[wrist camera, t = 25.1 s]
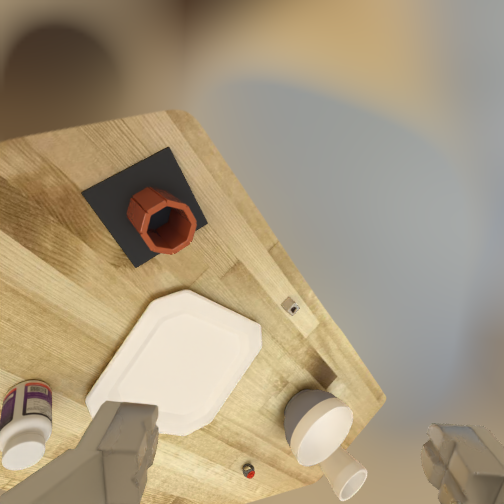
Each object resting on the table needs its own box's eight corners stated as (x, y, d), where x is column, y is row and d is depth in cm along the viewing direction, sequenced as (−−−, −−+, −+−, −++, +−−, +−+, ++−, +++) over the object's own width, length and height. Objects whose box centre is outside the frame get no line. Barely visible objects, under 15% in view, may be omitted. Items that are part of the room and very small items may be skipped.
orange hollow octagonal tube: (118, 203, 40) (130, 220, 34) (160, 179, 42) (180, 191, 36) (144, 241, 44) (160, 263, 37) (182, 218, 45) (204, 235, 39)
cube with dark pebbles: (285, 310, 63) (293, 316, 61) (280, 304, 62) (288, 311, 60) (293, 302, 64) (300, 308, 62) (288, 296, 62) (296, 302, 60)
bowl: (265, 405, 71) (291, 440, 63) (320, 365, 76) (350, 393, 68) (279, 443, 79) (303, 478, 71) (328, 404, 84) (355, 433, 76)
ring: (249, 467, 76) (255, 478, 73) (239, 470, 74) (246, 482, 72) (251, 459, 75) (257, 470, 73) (241, 462, 74) (248, 474, 71)
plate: (69, 411, 47) (69, 423, 46) (163, 273, 47) (167, 280, 46) (196, 430, 62) (200, 439, 61) (268, 325, 62) (274, 331, 61)
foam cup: (324, 422, 86) (361, 464, 76) (335, 434, 92) (371, 475, 81) (299, 449, 85) (334, 496, 74) (312, 459, 90) (345, 504, 80)
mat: (81, 192, 38) (81, 193, 38) (168, 146, 41) (169, 147, 41) (135, 266, 45) (135, 268, 44) (206, 222, 48) (208, 223, 48)
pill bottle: (14, 418, 44) (6, 484, 36) (-4, 391, 41) (-17, 455, 34) (58, 399, 46) (59, 457, 38) (43, 372, 43) (41, 428, 36)
